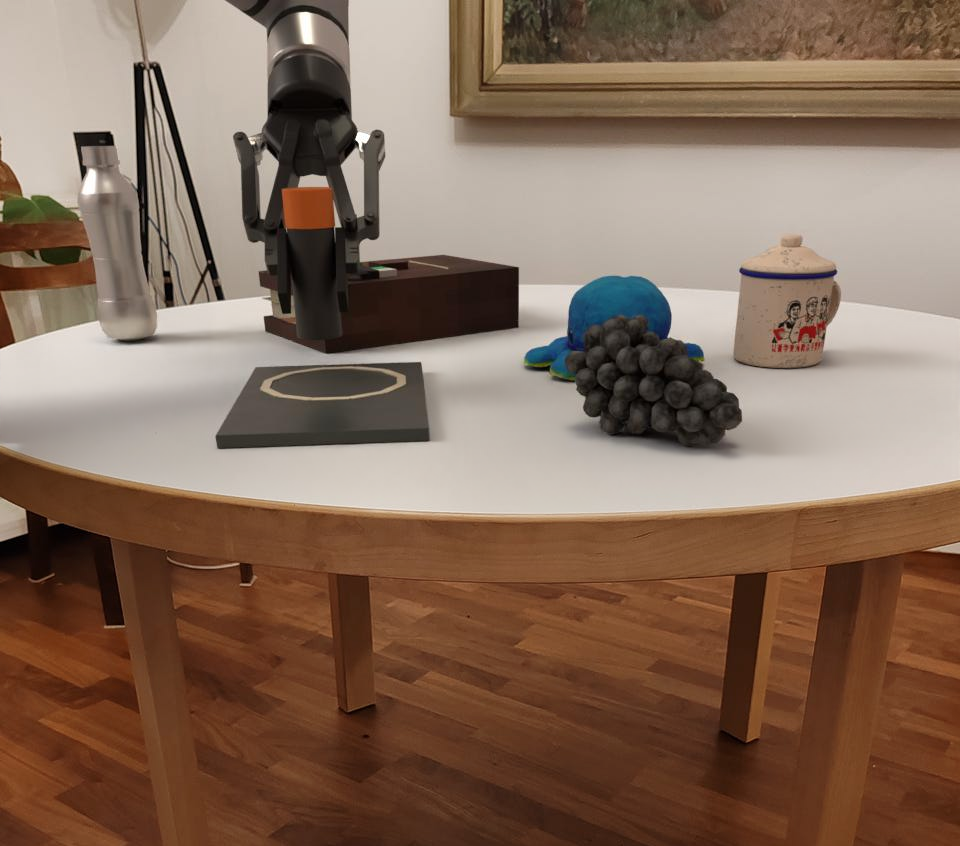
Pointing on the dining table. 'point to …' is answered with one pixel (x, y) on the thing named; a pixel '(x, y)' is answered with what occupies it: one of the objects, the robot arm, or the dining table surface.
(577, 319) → the plush toy
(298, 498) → the dining table surface
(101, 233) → the metal water bottle
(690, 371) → the fruit
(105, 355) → the dining table surface
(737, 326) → the teacup with lid
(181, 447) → the dining table surface
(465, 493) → the dining table surface
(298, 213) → the marker
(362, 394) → the slate board
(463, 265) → the decorative book
